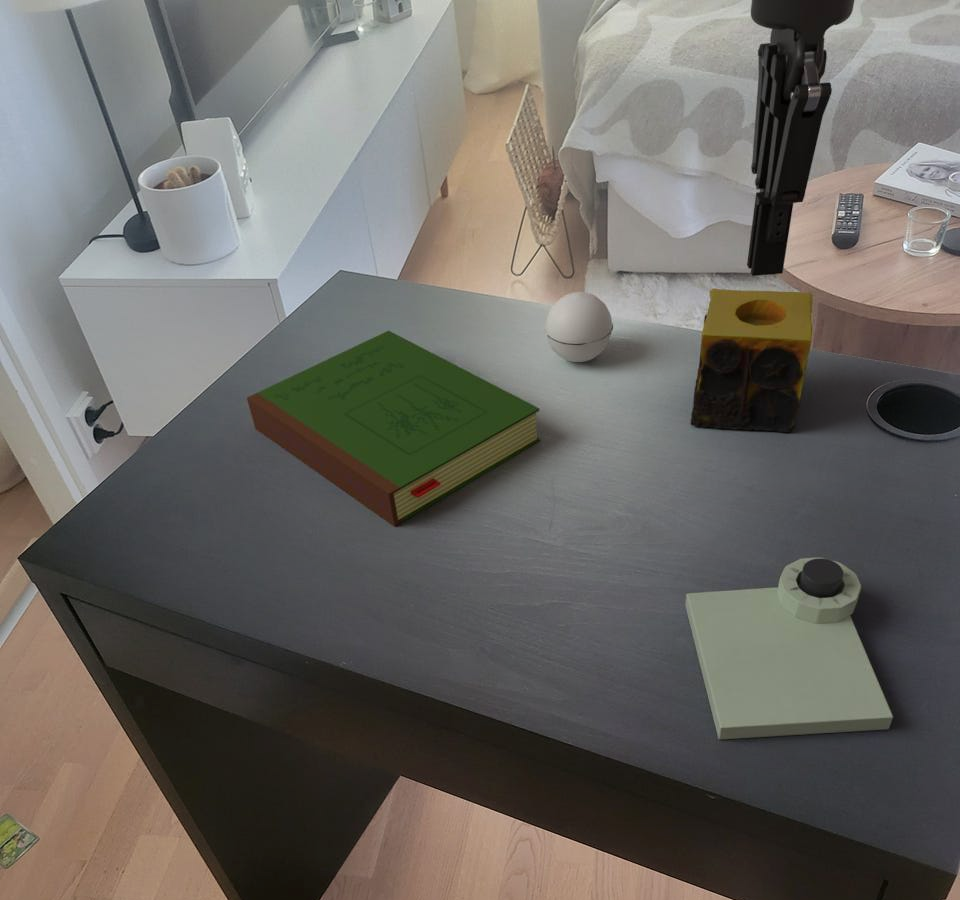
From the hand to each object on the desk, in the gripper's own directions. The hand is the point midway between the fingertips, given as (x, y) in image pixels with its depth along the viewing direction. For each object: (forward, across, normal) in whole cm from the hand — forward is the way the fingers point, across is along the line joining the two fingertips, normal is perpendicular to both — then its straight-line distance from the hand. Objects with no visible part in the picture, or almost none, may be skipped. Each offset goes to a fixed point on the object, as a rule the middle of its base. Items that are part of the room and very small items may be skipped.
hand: (764, 268), depth 87 cm
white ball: (+15, -11, -15) cm, 24 cm away
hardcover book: (+15, +1, -36) cm, 39 cm away
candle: (+15, 0, 0) cm, 15 cm away
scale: (+14, +36, -5) cm, 39 cm away
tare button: (+12, +30, -1) cm, 32 cm away
